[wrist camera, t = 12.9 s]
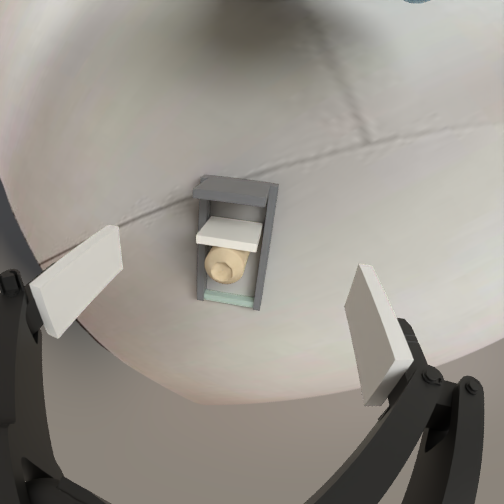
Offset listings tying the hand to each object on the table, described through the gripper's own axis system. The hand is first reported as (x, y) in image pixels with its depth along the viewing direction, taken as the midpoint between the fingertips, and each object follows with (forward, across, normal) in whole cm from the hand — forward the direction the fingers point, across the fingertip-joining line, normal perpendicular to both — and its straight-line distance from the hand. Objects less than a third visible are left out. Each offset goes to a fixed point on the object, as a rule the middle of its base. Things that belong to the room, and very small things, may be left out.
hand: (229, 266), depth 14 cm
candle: (+29, -4, -12) cm, 32 cm away
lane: (+29, -4, -12) cm, 32 cm away
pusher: (+29, -4, -10) cm, 31 cm away
